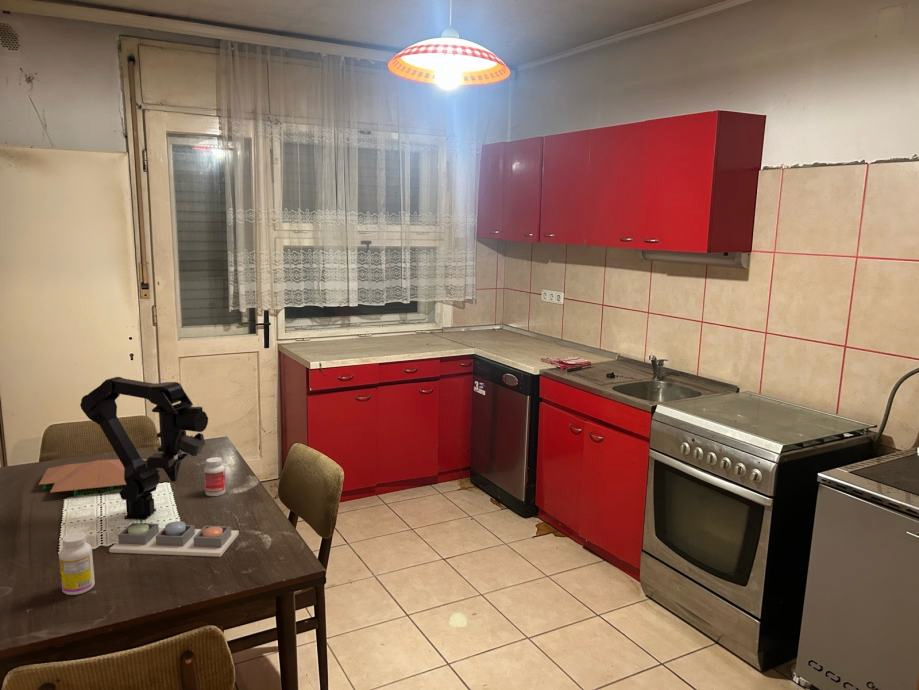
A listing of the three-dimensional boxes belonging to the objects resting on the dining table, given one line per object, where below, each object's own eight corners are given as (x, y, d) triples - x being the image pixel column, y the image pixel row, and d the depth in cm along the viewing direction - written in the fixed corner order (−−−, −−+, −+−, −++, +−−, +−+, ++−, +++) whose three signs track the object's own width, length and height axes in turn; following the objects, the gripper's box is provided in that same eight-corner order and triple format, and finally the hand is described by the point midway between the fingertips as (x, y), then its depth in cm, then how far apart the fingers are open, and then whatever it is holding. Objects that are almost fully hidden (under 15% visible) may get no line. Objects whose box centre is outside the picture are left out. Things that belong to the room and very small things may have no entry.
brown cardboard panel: (153, 491, 216) (152, 466, 215) (33, 504, 205) (31, 478, 203) (157, 467, 237) (156, 444, 236) (48, 477, 226) (46, 454, 224)
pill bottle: (228, 494, 214) (226, 460, 212) (208, 498, 210) (206, 464, 209) (222, 487, 219) (221, 455, 217) (203, 491, 216) (201, 458, 214)
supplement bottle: (70, 581, 161) (66, 530, 159) (99, 580, 162) (95, 530, 159) (56, 596, 154) (51, 543, 152) (87, 595, 155) (82, 543, 153)
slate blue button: (162, 537, 178) (161, 529, 178) (170, 529, 183) (170, 520, 183) (180, 538, 178) (180, 529, 178) (189, 529, 183) (188, 521, 183)
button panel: (109, 552, 175) (108, 539, 175) (135, 530, 188) (134, 518, 187) (220, 556, 174) (219, 544, 174) (238, 534, 187) (238, 522, 186)
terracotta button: (199, 543, 178) (199, 534, 178) (207, 534, 183) (207, 526, 183) (218, 543, 178) (218, 535, 178) (225, 535, 183) (225, 526, 182)
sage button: (124, 540, 179) (124, 531, 178) (134, 531, 184) (134, 523, 183) (143, 541, 179) (143, 532, 178) (152, 532, 184) (152, 524, 183)
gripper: (184, 439, 180) (187, 495, 183) (212, 419, 198) (215, 470, 201) (143, 438, 180) (146, 493, 183) (175, 418, 199) (178, 469, 201)
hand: (173, 481), depth 192 cm, fingers closed
